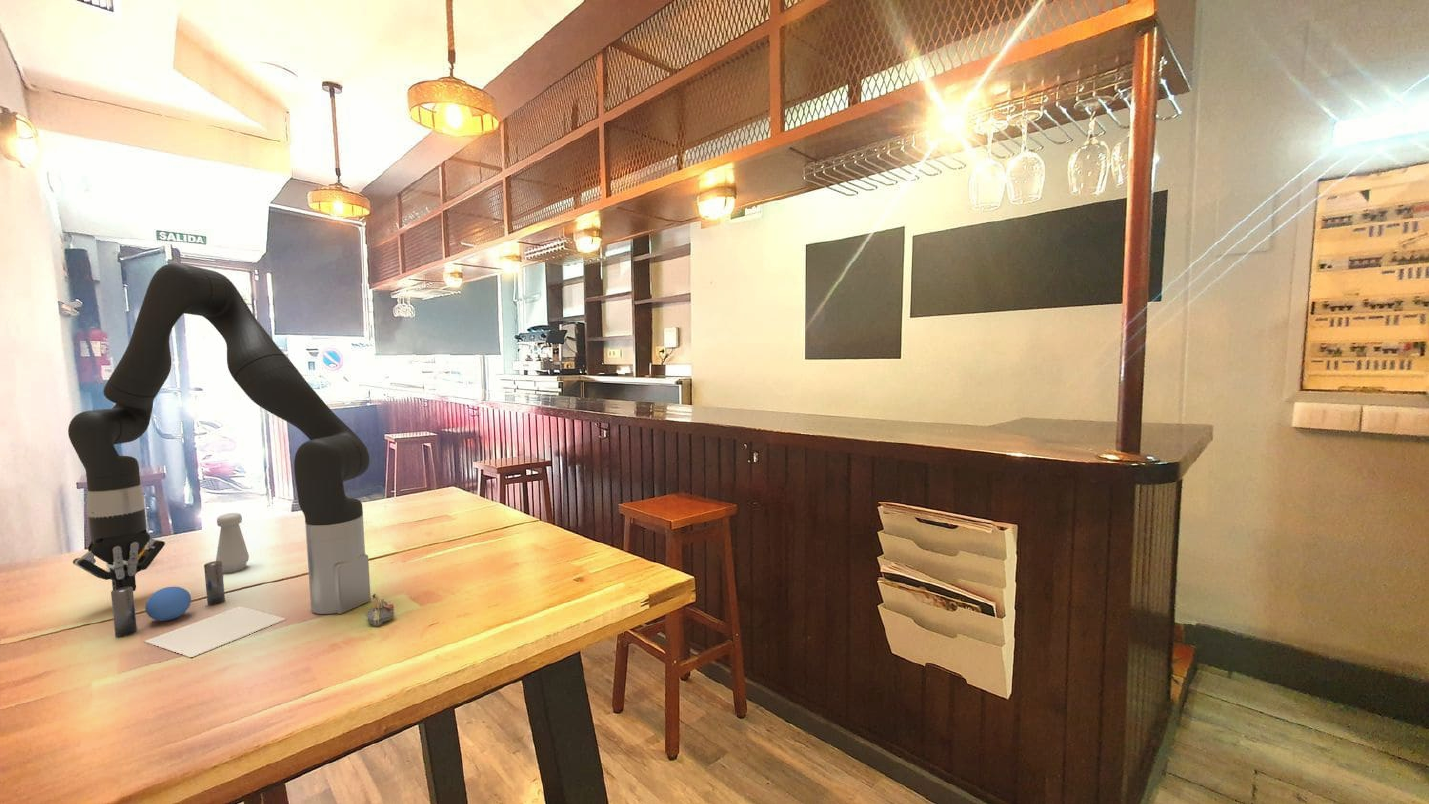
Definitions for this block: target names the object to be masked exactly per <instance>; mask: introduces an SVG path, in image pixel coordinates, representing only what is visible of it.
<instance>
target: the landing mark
mask: <svg viewBox="0 0 1429 804" xmlns="http://www.w3.org/2000/svg"><path fill="white" fill-rule="evenodd" d="M286 620H287V618H284V617H282V616H278V615H273V614H270V613H266V612H263V611H259V610H255V609H253V608H252V609H251V608H249V607H243V606H241V605H240V606H238V607H235V608H231V609H229V610H226V611H223V612H221V613H218V614H215V615H212V616H209V617H207V618H204V619H201V620H198V621H196V622H192V623H190V624H188V625H185V626H182V627H179V628H177V629H174V630H170V631H168V632H165V633H163V634H159V635H157V636H154V637H152V638H148V639H146V640H144V641H143V642H144V643H145V644H148V645H151V646H154V645H155V646H154V647H157V646H159V647H158V648H160V647H161V648H160V649H162V648H165V649H167V650H166V651H168V650H171V651H173V652H172V653H174V652H176V653H175V654H177V653H179V654H178V655H180V654H182V653H183V655H185V656H188V657H193V658H195V657H194V656H196V657H198V656H200V655H199V654H201V655H203V654H204V653H203V652H206V651H208V652H210V651H209V650H211V649H213V650H215V649H214V648H216V647H218V648H220V647H222V646H221V645H223V646H225V645H227V643H228V644H230V643H232V641H233V642H235V641H238V640H240V639H242V638H244V636H245V637H248V636H249V634H250V635H251V634H254V632H255V633H257V632H260V631H262V630H264V628H265V629H267V628H268V627H271V625H272V626H274V625H276V624H278V623H281V622H284V621H286ZM266 627H267V628H266ZM261 629H262V630H261ZM259 630H260V631H259ZM256 631H257V632H256ZM237 639H238V640H237ZM234 640H235V641H234ZM229 642H230V643H229ZM224 644H225V645H224ZM219 646H220V647H219ZM165 649H164V650H165ZM216 649H217V648H216ZM182 650H183V651H182ZM171 651H170V652H171ZM211 651H212V650H211ZM202 653H203V654H202ZM206 653H207V652H206ZM183 655H182V656H183ZM197 655H198V656H197ZM185 656H184V657H185ZM188 657H187V658H188Z"/></svg>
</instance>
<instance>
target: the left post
mask: <svg viewBox="0 0 1429 804" xmlns="http://www.w3.org/2000/svg"><path fill="white" fill-rule="evenodd" d="M110 595H111V605H112V616H113V617H112V618H113V627H114V633H115V634H114V636H115V637H116V638H124V637H128V636H131V635H134V634H135V633H137V631H138V629H137V628H138V626H137V618H136V608H135V599H134V598H135V597H134V596H135V595H134V591H133V587H122V588H118V589H115V590H113V589H112V590H111V591H110Z"/></svg>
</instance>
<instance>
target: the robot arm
mask: <svg viewBox="0 0 1429 804" xmlns="http://www.w3.org/2000/svg"><path fill="white" fill-rule="evenodd" d="M184 314H186V315H192V316H193V315H194V316H201V317H203V318H204V319H206V320H207V321H208V322H209V323H210V324H211V325H212V326H213V327H214V328H215V330H216V331H218V333H219V334H220V335H221V337H222V338H223V340H224V341H225V345H226V363H227V368H228V369H227V370H228V372H229V373H230V376H231V377H232V379H233V380H234V381H235V382H236V384H237V385H238V386H239V387H240V388H241V390H242V391H243V392H244V394H245V395H246V396H247V397H248V398H249V399H250V400H251V401H252V402H253V403H254V404H256V405H257V406H259V407H261V408H262V409H264V410H265V411H267V412H269V413H270V414H272V415H273V416H276V417H278V418H279V419H282V420H284V422H287V423H288V424H290V425H292V426H294V427H295V428H296V429H298V430H300V431H301V433H303V434H304V435H305V436H306V437H307V438H308V440H307V441H305V442H304V443H302V444H301V445H300V446H299V447H298V448H297V450H296V452H295V454H294V462H293V468H294V469H293V471H294V478H295V480H294V481H295V486H296V493H297V501H298V507H299V508H300V510H301V512H302V513H303V515H304V516H303V517H304V523H305V536H306V537H305V538H306V551H307V553H306V554H307V568H308V569H307V571H308V580H309V583H308V584H309V593H310V594H309V596H310V608H311V609H310V610H311V612H312V613H313V614H318V615H331V614H338V615H339V614H344V613H346V612H349V611H350V610H352V609H356V608H358V607H360V606H361V605H364V604H367V603H369V602H371V601H372V600H371V599H372V598H371V597H372V596H371V582H370V565H369V563H370V562H369V555H368V554H366V549H365V548H366V546H365V531H364V528H365V527H364V511H363V503H362V501H361V500H359V499H357V498H353V497H348V496H347V494H346V493H345V492H346V491H345V486H344V482H347V481H350V480H354V479H356V478H358V477H360V476H362V475H364V474H365V473H366V472H367V471H368V468H369V466H370V463H371V462H370V460H371V459H370V453H369V451H368V448H367V446H366V445H365V443H364V442H363V441H362V440H361V438H360V437H359V436H358V435H357V434H356V433H355V432H354V431H353V430H352V429H351V428H350V427H349V426H348V425H347V424H346V423H345V422H343V420H341V418H340V417H339V416H337V415H336V414H335V413H334V411H333V410H332V409H330V407H329V406H328V405H327V404H326V403H325V402H324V400H323V399H322V398H321V397H320V396H319V395H318V393H317V392H316V391H315V389H314V388H313V387H312V386H311V385H310V384H309V382H307V380H306V379H305V378H304V377H303V375H302V374H301V373H300V371H299V369H298V368H297V367H296V366H295V364H294V363H292V361H291V360H290V358H289V357H288V356H287V355H286V354H285V353H284V352H283V351H282V350H281V348H280V347H279V346H278V344H276V342H275V341H274V340H273V338H272V337H271V336H270V335H269V334H268V332H267V331H266V329H264V327H263V326H262V324H261V323H260V322H259V321H258V319H257V318H256V317H255V315H254V313H253V312H252V310H251V309H250V307H249V306H248V305H247V303H246V301H245V299H244V298H243V296H242V295H241V293H240V292H239V290H238V289H237V287H236V285H235V284H234V283H233V282H232V281H231V279H229V278H228V277H227V276H225V275H224V274H222V273H220V272H217V271H215V270H212V269H211V270H210V269H207V268H202V267H198V266H193V265H189V264H185V263H179V262H177V263H176V262H173V263H172V262H171V263H167V264H164V265H162V266H161V267H160V268H158V269H157V271H155V272H154V274H153V276H152V277H151V279H150V281H149V284H148V286H147V288H146V292H145V295H144V297H143V300H142V304H141V306H140V310H139V312H138V315H137V319H136V322H135V325H134V328H133V331H132V334H131V337H130V340H129V343H128V345H127V347H126V348H125V351H124V353H123V354H122V357H121V358H120V360H119V362H118V363H117V365H116V366H115V368H114V370H113V372H112V374H111V375H110V377H109V378H108V380H107V382H106V383H105V386H104V387H103V396H104V397H105V398H106V399H107V400H109V401H110V402H111V403H114V404H115V405H114V406H113V407H112V408H104V409H91V410H86V411H82V412H78V414H76V415H75V416H74V417H73V418H72V419H71V421H70V422H69V425H68V430H67V432H68V438H69V441H70V443H71V445H72V447H73V449H74V451H75V453H76V455H77V456H78V459H79V461H80V462H81V464H82V465H83V468H84V470H85V476H86V486H87V498H86V507H87V508H86V514H87V517H88V525H89V535H90V544H89V545H88V548H87V552H86V553H85V554H83V555H82V556H80V557H77V558H74V559H73V560H72V564H73V565H75V566H76V567H78V568H80V569H82V570H83V571H86V572H87V573H90V574H91V575H93V576H95V577H96V578H98V579H102V580H105V581H106V580H108V581H109V580H111V585H112V591H113V590H115V589H118V588H122V587H133V592H135V591H136V590H137V585H136V584H137V583H136V575H137V573H140V572H141V571H144V570H145V571H146V570H147V569H148V567H149V566H150V565H151V563H153V561H155V559H156V557H157V556H158V554H159V553H160V552H161V550H162V549H163V548H164V546H165V544H166V542H165V541H162V540H159V539H154V538H151V534H150V533H149V532H148V530H147V518H146V510H145V509H146V507H145V497H144V496H145V495H144V492H143V489H142V485H141V473H140V467H139V465H140V464H139V462H138V460H137V458H135V457H133V456H127V455H119V452H118V451H117V449H116V448H115V445H119V444H126V443H132V442H134V441H136V440H138V439H139V438H140V437H142V436H143V435H144V434H145V433H146V431H147V430H148V428H149V426H150V421H151V417H152V411H153V408H154V407H153V406H154V400H155V398H156V397H157V395H158V394H159V392H160V390H161V389H162V388H163V385H164V384H165V382H166V380H167V379H168V377H169V375H170V373H171V368H172V353H171V348H170V337H171V333H172V331H173V328H174V327H175V325H176V324H177V322H178V321H179V319H180V318H181V317H182V316H183V315H184ZM144 547H145V549H146V550H145V551H144V552H143V554H142V555H141V556H140V558H139V559H138V555H139V554H140V552H141V551H142V550H143V548H144ZM95 557H96V558H98V559H99V560H101V561H103V562H104V563H105V564H106V567H107V568H108V571H107V570H105V569H103V568H101V567H100V566H98V565H96V561H97V560H96V559H95Z"/></svg>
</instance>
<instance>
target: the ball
mask: <svg viewBox="0 0 1429 804" xmlns="http://www.w3.org/2000/svg"><path fill="white" fill-rule="evenodd" d="M191 604H192V597H191V593H190V592H189V591H188V590H187V589H186V588H184V587H180V586H167V587H163V588H161V589H158V590H157V591H155V592H154V593H152V594H151V596H150V597H148V599H147V601H146V603H145V612H146V614H147V615H148V617H149V618H150V619H153V620H155V621H160V622H165V621H166V622H167V621H172V620H175V619H177V618H178V617H180V616H182V615H184V614H185V612H186V611H187V610H188V609H190V606H191Z"/></svg>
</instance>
